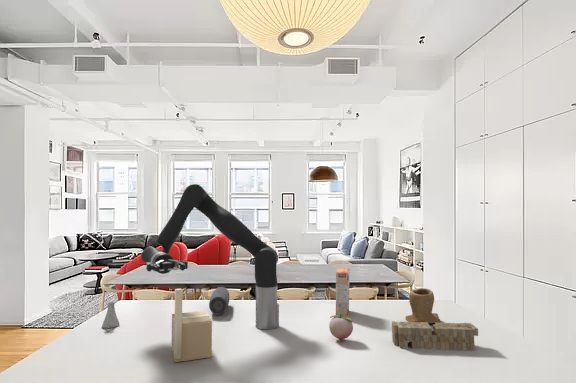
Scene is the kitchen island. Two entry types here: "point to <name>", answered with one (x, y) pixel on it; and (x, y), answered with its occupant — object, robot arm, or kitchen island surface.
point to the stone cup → (422, 306)
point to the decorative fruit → (340, 327)
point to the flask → (110, 317)
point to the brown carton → (190, 320)
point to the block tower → (434, 335)
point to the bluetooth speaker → (219, 300)
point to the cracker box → (342, 292)
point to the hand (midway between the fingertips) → (171, 268)
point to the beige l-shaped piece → (190, 336)
